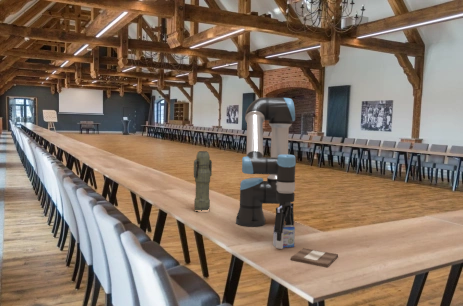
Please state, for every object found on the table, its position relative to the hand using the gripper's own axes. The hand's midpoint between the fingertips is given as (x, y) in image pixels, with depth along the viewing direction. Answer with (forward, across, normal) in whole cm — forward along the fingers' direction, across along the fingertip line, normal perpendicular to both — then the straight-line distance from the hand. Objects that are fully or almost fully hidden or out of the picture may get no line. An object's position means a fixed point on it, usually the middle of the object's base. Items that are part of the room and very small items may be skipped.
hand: (283, 245), depth 165 cm
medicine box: (+1, 0, 0) cm, 1 cm away
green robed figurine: (0, -38, -67) cm, 77 cm away
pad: (0, +8, +16) cm, 18 cm away
